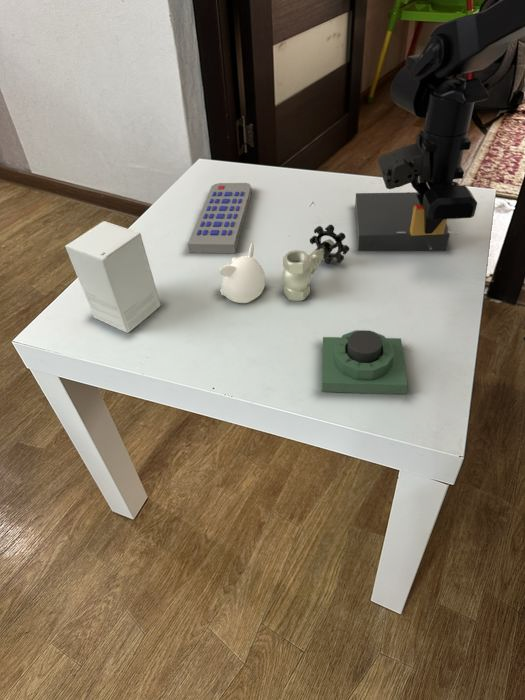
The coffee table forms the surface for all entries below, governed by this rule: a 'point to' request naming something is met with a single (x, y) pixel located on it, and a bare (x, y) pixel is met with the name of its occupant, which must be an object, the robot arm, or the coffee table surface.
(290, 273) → the valve
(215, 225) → the remote control
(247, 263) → the figurine
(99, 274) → the white packaging box
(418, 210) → the tap handle
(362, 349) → the button
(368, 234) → the panel
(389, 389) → the button box
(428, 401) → the coffee table surface
